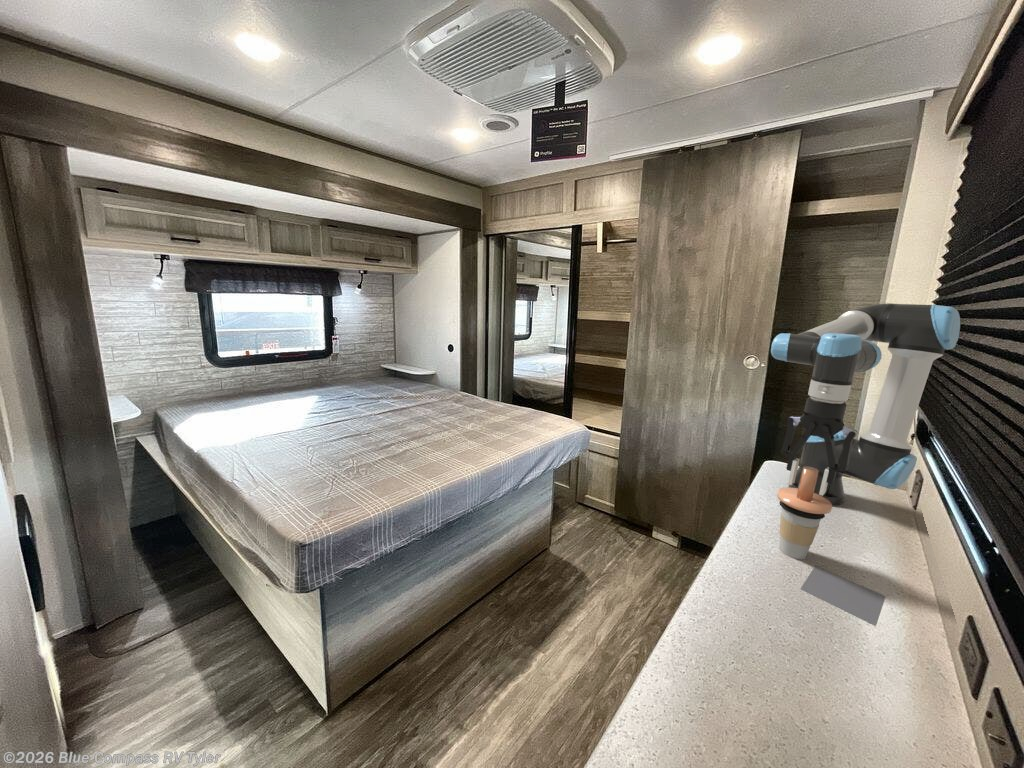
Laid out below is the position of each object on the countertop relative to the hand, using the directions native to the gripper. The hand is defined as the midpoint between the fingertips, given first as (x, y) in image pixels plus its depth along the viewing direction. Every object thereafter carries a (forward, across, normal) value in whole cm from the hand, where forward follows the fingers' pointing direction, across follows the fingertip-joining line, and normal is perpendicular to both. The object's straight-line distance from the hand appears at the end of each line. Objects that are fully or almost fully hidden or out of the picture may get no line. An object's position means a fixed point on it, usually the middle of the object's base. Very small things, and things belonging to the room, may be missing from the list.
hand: (806, 487), depth 100 cm
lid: (+4, 0, 0) cm, 4 cm away
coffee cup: (+19, 0, 0) cm, 19 cm away
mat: (+19, +12, -8) cm, 24 cm away
